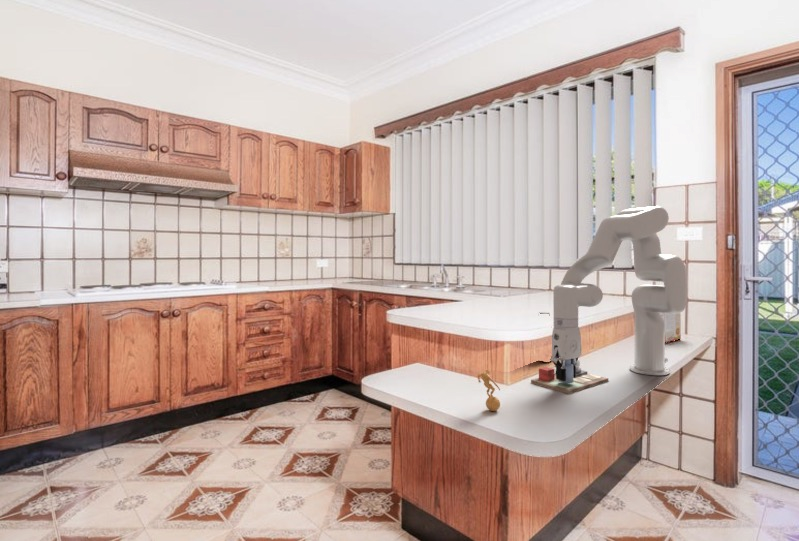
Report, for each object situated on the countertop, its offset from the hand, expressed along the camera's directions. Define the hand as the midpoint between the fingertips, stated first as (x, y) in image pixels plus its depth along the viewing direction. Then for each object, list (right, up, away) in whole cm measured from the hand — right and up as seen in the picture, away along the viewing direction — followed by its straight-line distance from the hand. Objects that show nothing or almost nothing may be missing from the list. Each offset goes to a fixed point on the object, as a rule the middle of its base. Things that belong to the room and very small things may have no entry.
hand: (565, 378), depth 140 cm
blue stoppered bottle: (0, -1, 0) cm, 1 cm away
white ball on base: (+7, 0, +12) cm, 14 cm away
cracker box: (+74, +1, +67) cm, 100 cm away
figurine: (-29, -5, -20) cm, 35 cm away
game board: (+4, -3, +6) cm, 7 cm away
